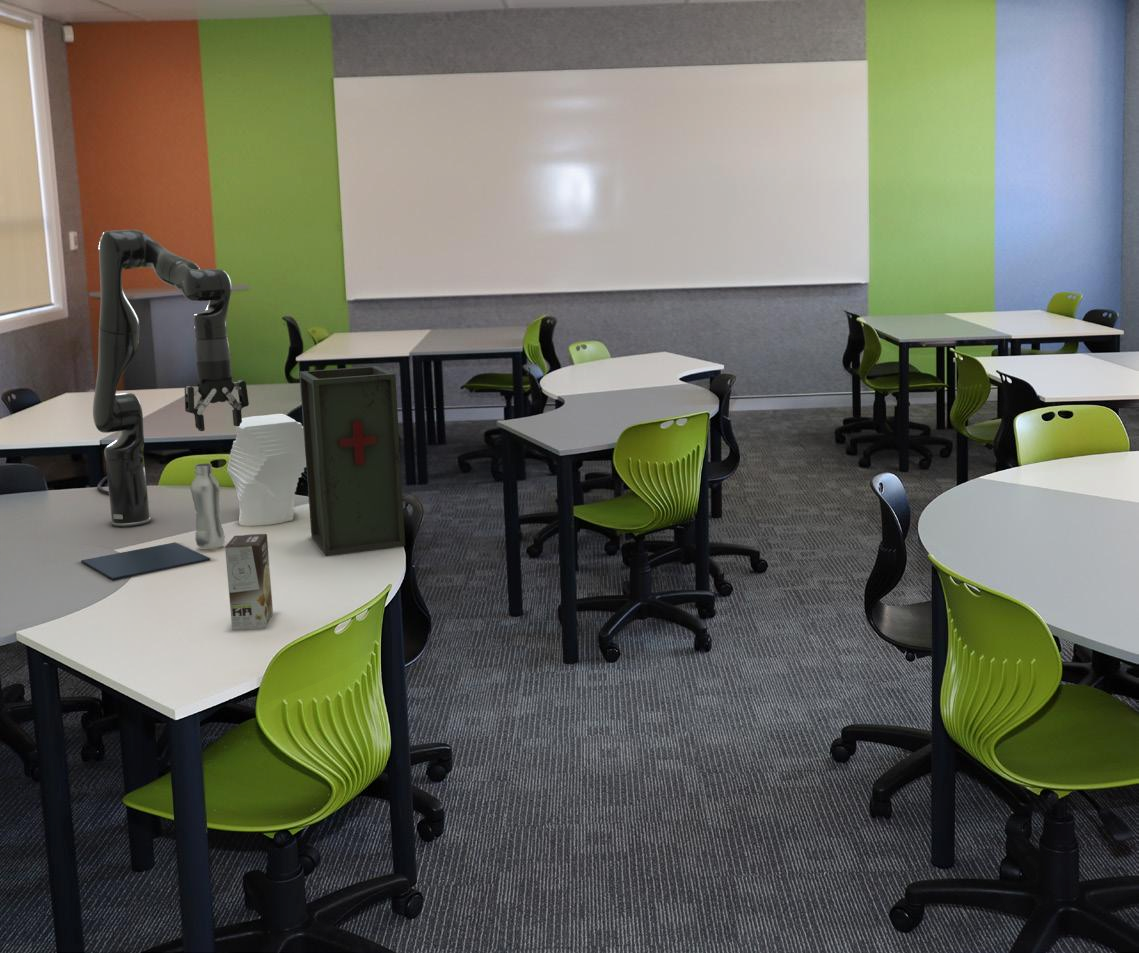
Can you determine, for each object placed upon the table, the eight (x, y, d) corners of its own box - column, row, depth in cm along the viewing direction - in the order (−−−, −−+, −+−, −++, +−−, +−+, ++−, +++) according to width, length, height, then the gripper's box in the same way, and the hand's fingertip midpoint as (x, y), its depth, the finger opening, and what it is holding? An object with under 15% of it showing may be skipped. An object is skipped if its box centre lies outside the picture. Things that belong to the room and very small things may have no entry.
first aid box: (325, 555, 275) (312, 380, 267) (311, 537, 292) (299, 371, 284) (405, 546, 282) (395, 374, 274) (387, 528, 299) (377, 366, 291)
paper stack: (235, 531, 300) (226, 428, 295) (229, 508, 325) (221, 413, 320) (321, 523, 306) (314, 422, 301) (309, 501, 332) (302, 407, 326)
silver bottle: (217, 552, 281) (210, 467, 277) (190, 551, 282) (182, 467, 278) (230, 545, 287) (223, 462, 283) (204, 544, 288) (196, 461, 284)
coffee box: (266, 628, 226) (259, 545, 223) (231, 630, 225) (223, 547, 222) (274, 613, 235) (267, 532, 232) (240, 615, 234) (233, 534, 231)
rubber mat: (81, 562, 276) (81, 560, 276) (175, 544, 289) (175, 542, 289) (112, 580, 261) (112, 578, 260) (210, 560, 274) (210, 558, 274)
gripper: (236, 354, 284) (241, 422, 287) (176, 359, 275) (182, 430, 279) (249, 356, 278) (255, 426, 282) (189, 362, 270) (195, 434, 273)
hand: (219, 428), depth 280 cm, fingers open, 8 cm apart
